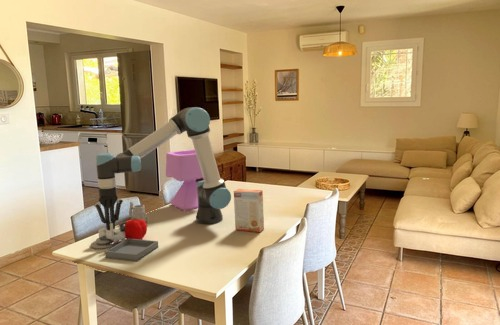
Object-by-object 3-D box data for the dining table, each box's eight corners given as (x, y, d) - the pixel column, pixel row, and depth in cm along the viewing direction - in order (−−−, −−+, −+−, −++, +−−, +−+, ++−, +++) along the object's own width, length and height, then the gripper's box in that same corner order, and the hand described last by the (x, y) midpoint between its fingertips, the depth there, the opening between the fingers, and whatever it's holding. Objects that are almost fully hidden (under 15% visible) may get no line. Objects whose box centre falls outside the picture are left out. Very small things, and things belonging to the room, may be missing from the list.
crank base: (125, 240, 186) (124, 235, 186) (107, 250, 174) (106, 244, 174) (103, 238, 190) (103, 233, 190) (84, 247, 178) (84, 242, 178)
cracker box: (264, 229, 195) (263, 189, 191) (259, 233, 189) (258, 192, 186) (240, 226, 201) (238, 188, 197) (235, 230, 195) (233, 190, 192)
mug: (139, 225, 208) (137, 204, 207) (125, 223, 215) (123, 202, 213) (149, 222, 215) (148, 201, 213) (135, 219, 221) (133, 199, 219)
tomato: (124, 245, 180) (122, 222, 178) (122, 238, 190) (120, 216, 188) (149, 240, 184) (148, 219, 183) (146, 234, 195) (144, 213, 193)
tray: (158, 247, 175) (157, 241, 175) (137, 261, 160) (136, 254, 159) (128, 244, 180) (128, 238, 180) (105, 257, 165) (104, 251, 165)
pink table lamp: (215, 205, 246) (212, 152, 240) (182, 211, 233) (178, 155, 227) (199, 198, 265) (196, 149, 259) (168, 204, 252) (164, 152, 247)
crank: (96, 239, 180) (95, 222, 179) (104, 236, 185) (102, 219, 184) (122, 242, 176) (121, 224, 174) (129, 238, 180) (127, 221, 179)
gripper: (117, 183, 181) (121, 231, 184) (90, 188, 172) (94, 237, 176) (124, 185, 175) (127, 234, 179) (96, 190, 167) (100, 241, 170)
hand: (111, 236), depth 177 cm, fingers closed
